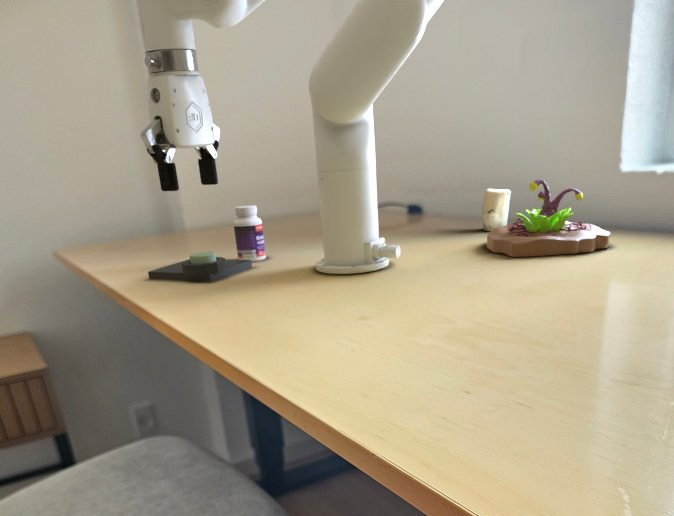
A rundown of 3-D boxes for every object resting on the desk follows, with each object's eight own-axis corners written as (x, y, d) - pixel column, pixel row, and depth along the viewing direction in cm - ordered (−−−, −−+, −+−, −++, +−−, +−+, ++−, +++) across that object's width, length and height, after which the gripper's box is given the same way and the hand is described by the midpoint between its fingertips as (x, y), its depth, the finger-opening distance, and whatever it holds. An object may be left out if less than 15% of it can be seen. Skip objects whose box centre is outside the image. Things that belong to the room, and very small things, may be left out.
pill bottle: (264, 261, 124) (258, 207, 120) (236, 263, 125) (229, 209, 120) (267, 256, 129) (261, 203, 125) (240, 258, 129) (233, 206, 125)
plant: (473, 242, 125) (474, 179, 120) (571, 233, 127) (576, 170, 122) (508, 261, 108) (511, 187, 103) (623, 250, 109) (631, 177, 104)
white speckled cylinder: (509, 227, 139) (510, 186, 136) (510, 231, 135) (511, 189, 131) (481, 228, 140) (482, 188, 137) (481, 232, 136) (482, 191, 132)
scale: (255, 267, 119) (253, 250, 117) (209, 284, 109) (206, 265, 107) (193, 265, 126) (190, 249, 124) (144, 281, 115) (141, 263, 114)
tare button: (222, 260, 113) (220, 251, 112) (205, 266, 109) (204, 256, 109) (202, 260, 115) (200, 251, 114) (185, 265, 111) (184, 256, 111)
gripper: (150, 61, 91) (172, 193, 98) (227, 66, 104) (241, 181, 112) (112, 67, 94) (135, 193, 102) (191, 70, 108) (206, 182, 115)
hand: (190, 187), depth 107 cm, fingers open, 9 cm apart
